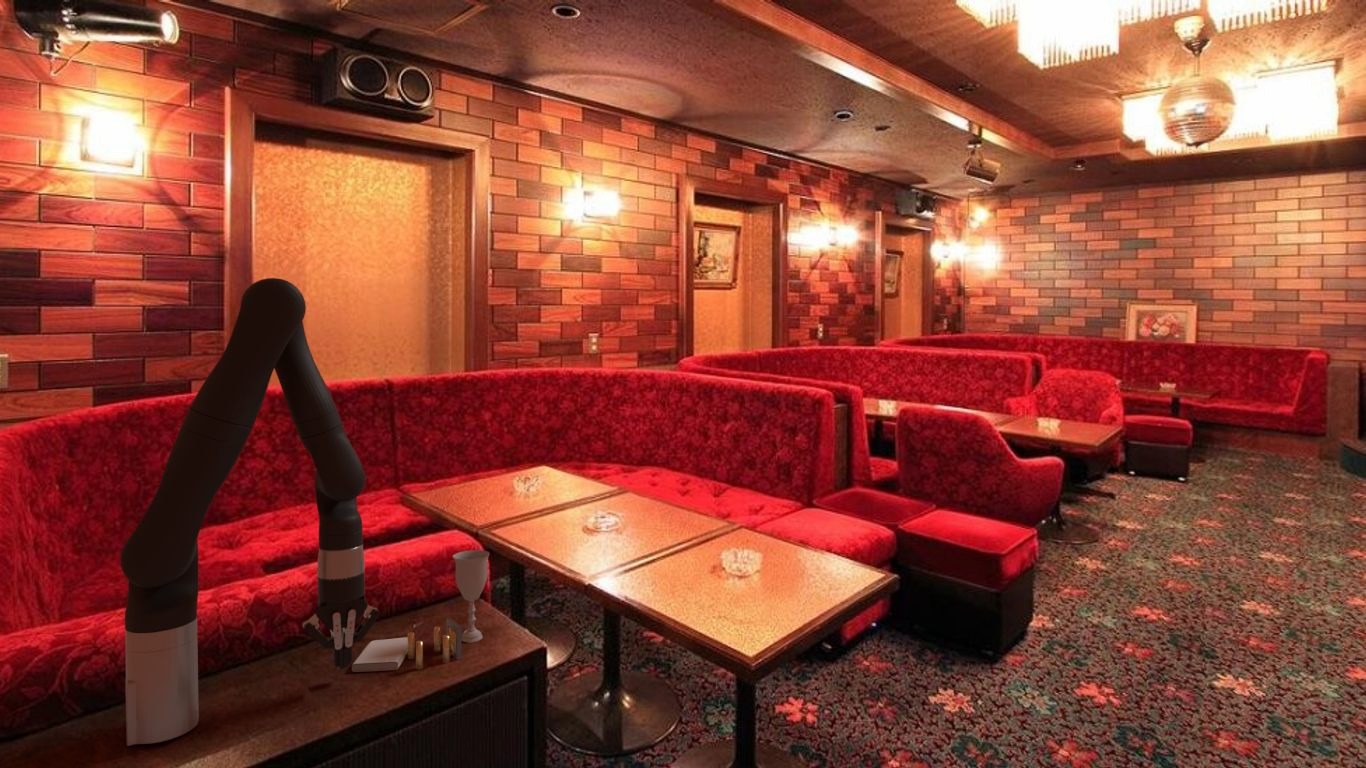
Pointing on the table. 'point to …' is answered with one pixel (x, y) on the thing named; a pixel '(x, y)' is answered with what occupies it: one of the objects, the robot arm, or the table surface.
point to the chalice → (471, 585)
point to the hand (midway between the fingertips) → (342, 667)
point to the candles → (438, 643)
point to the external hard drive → (382, 655)
